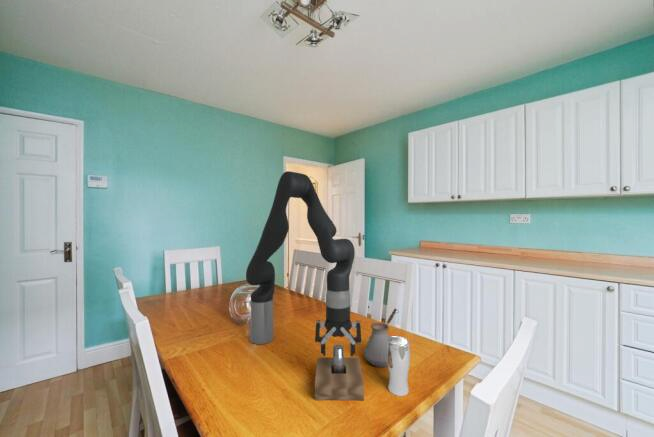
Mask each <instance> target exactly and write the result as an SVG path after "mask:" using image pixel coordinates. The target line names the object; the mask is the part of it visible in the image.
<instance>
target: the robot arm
mask: <svg viewBox="0 0 654 437" xmlns="http://www.w3.org/2000/svg"><path fill="white" fill-rule="evenodd" d="M290 198H295V199H301V201H303V202H304V203H305V205H306V207H307V210H306V219H307V223H308V225H309V226H310V229H311V231H312V232H313V234H314V235H315V237H316V239H317V243H318V247H319V251H320V255H321V257H322V258H323V259H324V261H326V262H327V263H329V264H335V266H334V267H333V268H332V269H330V270H329V271H327V274H326V294H325V321H321V320H319V319H318V320H316V323H315V337H314V339H315V340H314V342H315V343H319V344H320V354H322V356H323V357H324V356H326V352H327V351H326V350H327V349H326V348H327V347H326V345H327V344H326V342H327V341H328V340H329V339H330V338H331V337H333V338H336V337H339V338H343V337H346V339H347V340H348V341H349V342H350V346H349V347H350V348H349V350H350V357H354V355H355V354H356V345H357V343H359V344H361V343H362V330H361V328H362V326H361V322H360V320H356V321H351V293H350V292H351V291H350V275H351V272H352V268H353V264H354V260H355V255H356V252H355V251H356V250H355V246H354V244H353V242H352V240H350V239H348V238H339V239H338V238H337V239H334V237H335V235H336V234H337V227H336V226H335V224H334V222H333V221H332V219H331V218H330V216H329V215H328V213H327V212H326V210H325V208H324V207H323V205H322V203H321V200H320V198H319V196H318V193H317V191H316V189H315V186H314V184H313V183H312V180H311V178H310V177H309V176H308V175H307V174H304V173H300V172H297V171H296V172H295V171H290V170H288V171H284V172H283V173H282V174H281V176H280V178H279V179H278V182H277V187H276V191H275V195H274V198H273V201H272V202H273V203H272V205H271V209H270V211H269V214H268V217H267V219H266V222H265V224H264V228H263V230H262V233H261V236H260V239H259V241H258V243H257V246H256V248H255V250H254V253H253V254H252V257H251V259H250V261H249V263H248V266H247V268H246V271H245V273H246V274H245V279H246V282H247V283H248V285H251V286H258V287H257V288H256V289H255V290H254V291H252V292H251V293H250V319H249V343H253V344H255V345H266V344H268V343H270V342H272V341H274V294H275V286H276V285H275V284H276V283H275V282H276V271H275V267H274V265H273V263H272V262H271V261H268V260H269V259H270V258H271V257H272V256H273V255H274V254H275V253H276V252H277V251H278V250H279V249H280V248H281V247H282V245H283V244H284V242H285V240H286V238H287V235H288V232H289V228H290V223H289V219H288V216H287V206H288V203H289V200H290ZM323 327H324V328H325V330H326V331H325V332H324V334H323V335H322V336H320V330H322V329H323ZM352 327H353V329H354V330H355V331H356V336H355V337H354V335H353V334H352V333H351V331H350V329H352Z"/></svg>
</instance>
